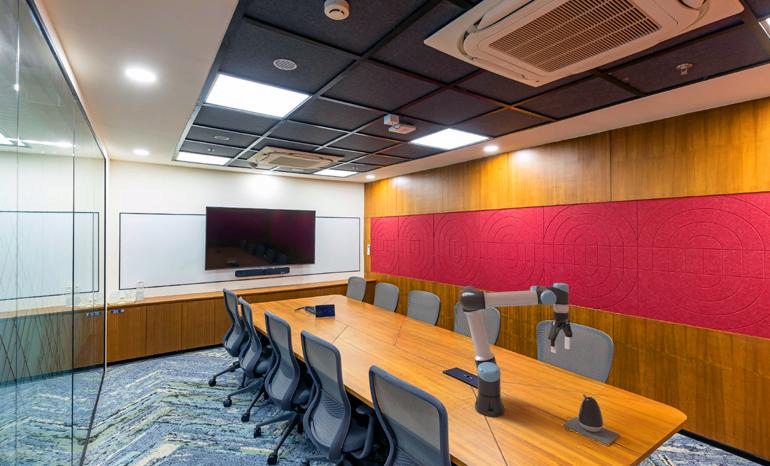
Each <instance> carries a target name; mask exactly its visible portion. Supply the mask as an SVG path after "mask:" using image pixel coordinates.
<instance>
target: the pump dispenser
mask: <svg viewBox="0 0 770 466" xmlns="http://www.w3.org/2000/svg"><path fill="white" fill-rule="evenodd" d="M582 397H583V398H584V399H583V400H582V401H581V404H580V407H579V411H578V416H577V417H578V419H579V422H580V424H581V426H582V427H583V428H584V429H585V430H587V431H590V432H598V431H600V430H601V428H602V427H603V426H604V419H603V418H604V417H603V414H602V411H601V408H600V405H599V403H598V402H597V400H596V399H595V398H594V397H592V396H587V394H585V393H583V394H582Z"/></svg>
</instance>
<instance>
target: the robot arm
mask: <svg viewBox="0 0 770 466" xmlns="http://www.w3.org/2000/svg"><path fill="white" fill-rule="evenodd" d="M569 289H570V287H569V285H568V284H567V283H564V282H554V283H553V285H552V286H542V285H532V286H530V289H529V290H518V291H516V290H515V291H500V292H499V291H498V292H486V291H484V290H483V291H479V289H478V288H476V287H473V286H472V285H468V286H465V287H463V288H462V289H461V290H460V292H459V294H458V295H459V299H458V300H459V304H460V305H461V309H462V313H464V314H465V316H466V319H467V323H468V328H469V332H470V337H471V340H472V344H473V347H474V348H473V349H474V352H475V355H474V357H473V358H474V362H475V363H474V364H475V368H476V372H477V396H476V398H475V399H476V400H475V401H474V410H475V411H476V412H477V413H479V414H480V415H483V416H487V417H499V416H502V415H503V414H505V406H504V402H503V400H502V396H501V374H502V372H501V369H500V368H501V367H499V365H498V363H497V360H496V357H495V354H494V353H493V352H492V351H491V347H490V343H489V339H488V335H487V331H486V327H485V324H484V323H485V322H484V318H483V315H482V311H483V310H487V309H488V308H499V307H516V306H517V307H518V306H519V307H522V306H535V305H536V306H537V305H540V306H542V305H545V306H548V307H549V306H550V307H551V306H553V315H552V317H553V319H555V321H551V325H550V326H551V327H550V330H549V333H548V338H547V339H548V340H550V352H551V353H554V354H557V338H558V335H559V333H560V331H561V330H562V331H563V333H564V349H566V350H571V339H572V338H573V331H572V326H571V324H570V323H571V321H570V319H569V315H570V314H569V309H570V308H569V300H570V299H569V298H570V291H569Z"/></svg>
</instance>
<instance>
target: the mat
mask: <svg viewBox="0 0 770 466" xmlns="http://www.w3.org/2000/svg"><path fill="white" fill-rule="evenodd" d="M564 427H565V428H564ZM562 428H564V429H567V428H568V429H567V430H569V429H571V430H573V431H572V432H574V431H575V432H574V433H576V432H578V433H580V434H582V435H581V436H583V435H584V436H583V437H585V436H586V437H585V438H587V437H589V438H588V439H590V438H591V439H590V440H592V439H594V440H596V441H595V442H597V441H599V442H601V443H604V444H606V445H608V444H610V443H611V442H612V441H614V440H615V439H616V438H617V437H618V438H620V437H621V434H620V433H619V432H617V431H614V430H611V429H609V428H606V427H603V426H602V428H601V430H600V431H598V432H590V431H587V430H585V429H584V428H583V427H582V426H581V424H580V422H579V419H578V416H574V417H572V418H570V420H568V421H566V422H565V423H563V424H562ZM571 430H570V431H571ZM578 433H577V434H578ZM580 434H579V435H580ZM619 436H620V437H619ZM618 438H617V439H618ZM617 439H616V440H617ZM594 440H593V441H594ZM616 440H615V441H616ZM615 441H614V442H615ZM599 442H598V443H599ZM601 443H600V444H601ZM612 443H613V442H612ZM612 443H611V444H612ZM611 444H610V445H611ZM606 445H605V446H606Z"/></svg>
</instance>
